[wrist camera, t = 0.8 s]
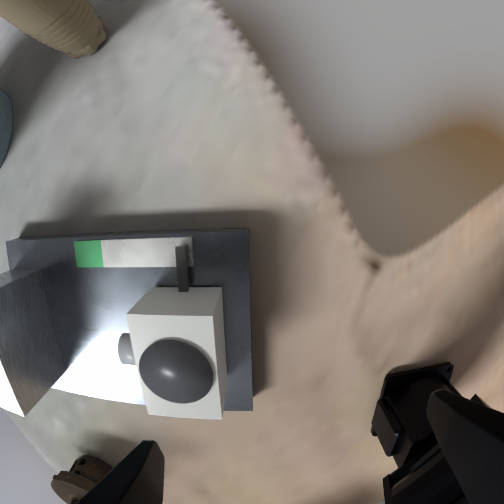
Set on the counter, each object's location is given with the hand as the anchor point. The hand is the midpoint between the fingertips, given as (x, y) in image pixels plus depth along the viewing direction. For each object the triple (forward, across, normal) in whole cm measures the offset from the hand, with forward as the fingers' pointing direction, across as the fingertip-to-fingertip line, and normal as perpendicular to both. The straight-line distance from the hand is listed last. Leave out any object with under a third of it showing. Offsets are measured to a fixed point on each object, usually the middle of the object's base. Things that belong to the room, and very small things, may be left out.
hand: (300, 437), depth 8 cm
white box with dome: (+10, +5, 0) cm, 11 cm away
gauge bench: (+11, +10, 0) cm, 15 cm away
